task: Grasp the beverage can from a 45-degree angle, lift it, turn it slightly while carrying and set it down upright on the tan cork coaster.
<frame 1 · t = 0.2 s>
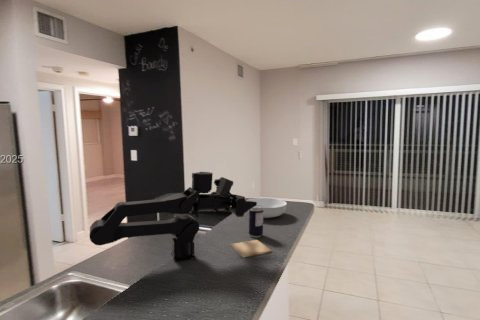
hand: (250, 200, 108), 17 cm above the counter, tool horizontal, fingers open, 9 cm apart
coaster: (250, 248, 106), on the counter
serving bowl: (265, 216, 147), on the counter
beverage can: (255, 236, 119), on the counter
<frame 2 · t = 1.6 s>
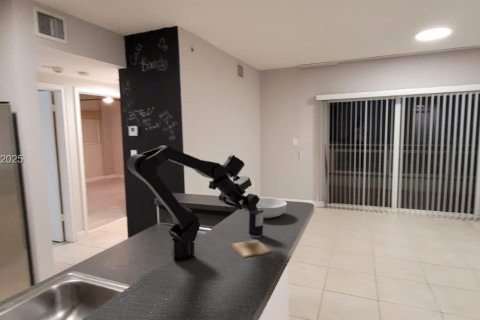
hand: (249, 211, 115), 11 cm above the counter, tool tilted 45°, fingers open, 9 cm apart
nothing on the counter moved.
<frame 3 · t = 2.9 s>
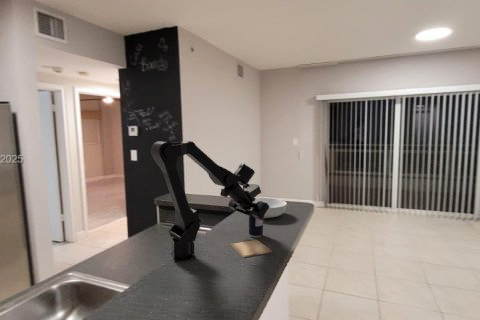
hand: (258, 217, 119), 7 cm above the counter, tool tilted 45°, fingers closed on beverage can, 6 cm apart
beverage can: (255, 236, 119), on the counter, touching gripper
everything else where it was.
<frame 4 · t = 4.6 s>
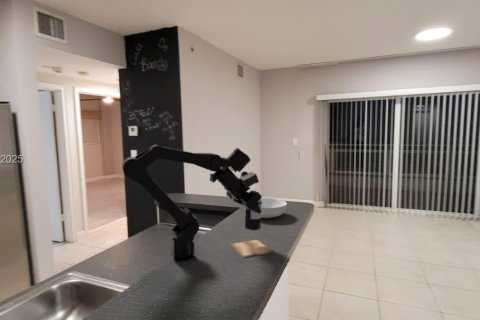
hand: (256, 210, 108), 13 cm above the counter, tool tilted 45°, fingers closed on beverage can, 6 cm apart
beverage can: (252, 230, 108), point 6 cm above the counter, touching gripper
everything else where it was.
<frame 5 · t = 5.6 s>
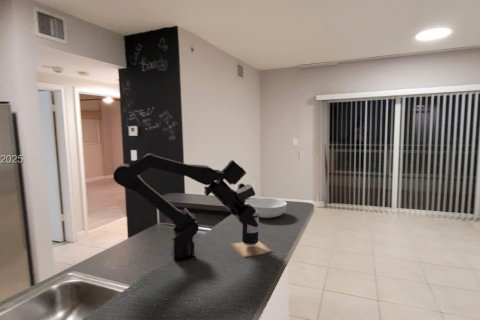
hand: (254, 223, 105), 9 cm above the counter, tool tilted 45°, fingers closed on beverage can, 6 cm apart
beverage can: (250, 243, 105), point 2 cm above the counter, touching gripper
everything else where it was.
when the fingers open (8 cm above the counter, at t = 6.2 s): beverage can stays where it is, resting on coaster.
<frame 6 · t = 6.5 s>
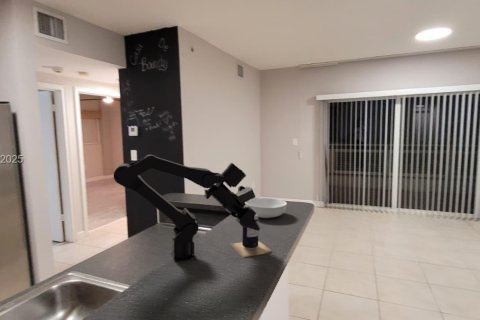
hand: (254, 225, 105), 8 cm above the counter, tool tilted 45°, fingers open, 8 cm apart
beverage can: (250, 247, 105), resting on coaster
everything else where it was.
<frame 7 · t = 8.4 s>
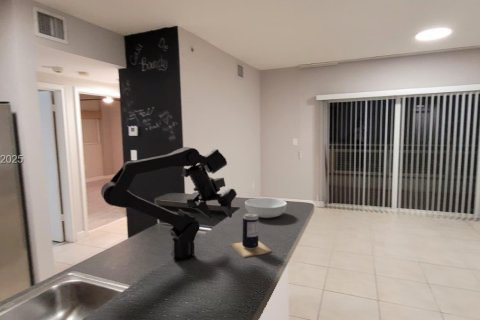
hand: (220, 217, 105), 11 cm above the counter, tool tilted 30°, fingers open, 9 cm apart
nothing on the counter moved.
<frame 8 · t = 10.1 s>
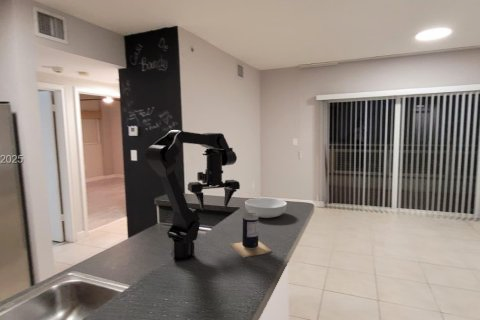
hand: (214, 208, 110), 13 cm above the counter, tool pointing down, fingers open, 9 cm apart
nothing on the counter moved.
at the end: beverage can inside the target area on the coaster (0.2 cm from its centre), point 0.4 cm above the coaster's base; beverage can tilted 0°; the gripper is holding nothing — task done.
